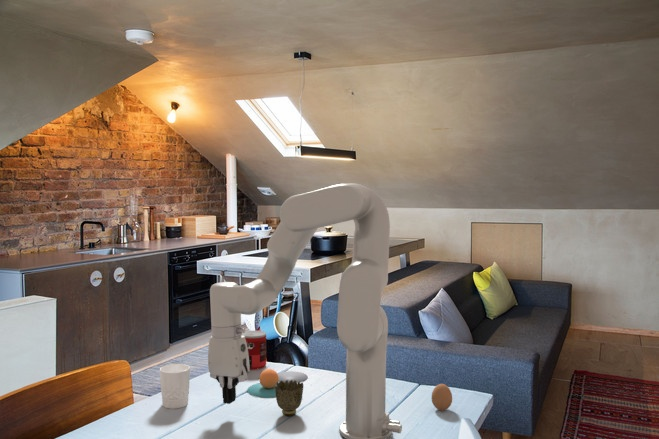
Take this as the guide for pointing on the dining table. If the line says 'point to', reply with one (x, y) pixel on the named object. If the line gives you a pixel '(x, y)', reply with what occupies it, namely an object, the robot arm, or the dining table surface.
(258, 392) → the disc
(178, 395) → the white cup
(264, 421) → the dining table surface
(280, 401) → the cup
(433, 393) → the egg
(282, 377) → the disc
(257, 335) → the canned food
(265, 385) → the ball
